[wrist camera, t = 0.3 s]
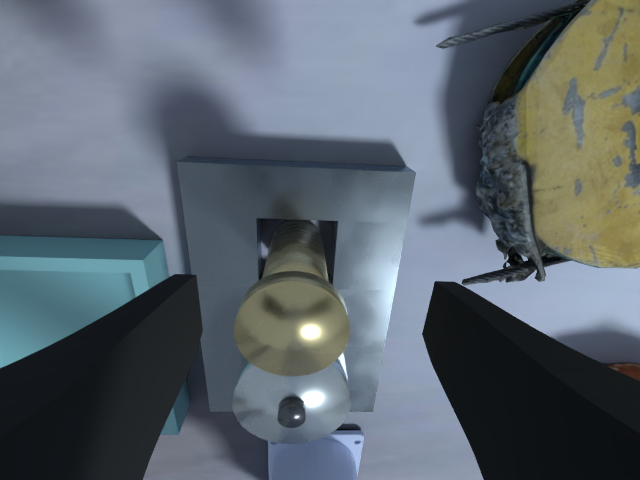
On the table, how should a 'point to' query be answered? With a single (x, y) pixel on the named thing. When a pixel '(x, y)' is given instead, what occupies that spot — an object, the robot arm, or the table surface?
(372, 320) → the plate
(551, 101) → the yellow flat irregular piece
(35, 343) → the tray
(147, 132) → the table surface
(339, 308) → the pin
